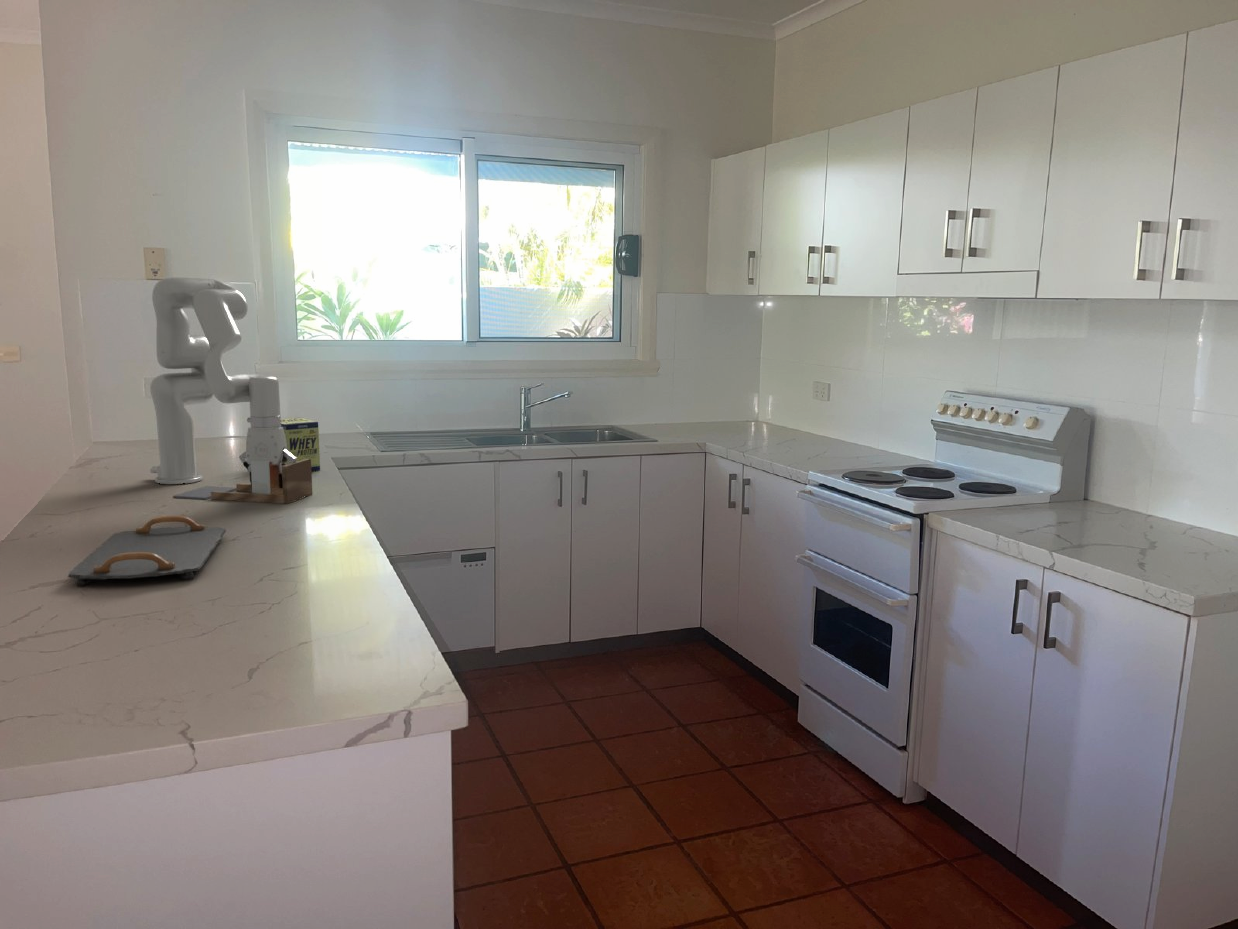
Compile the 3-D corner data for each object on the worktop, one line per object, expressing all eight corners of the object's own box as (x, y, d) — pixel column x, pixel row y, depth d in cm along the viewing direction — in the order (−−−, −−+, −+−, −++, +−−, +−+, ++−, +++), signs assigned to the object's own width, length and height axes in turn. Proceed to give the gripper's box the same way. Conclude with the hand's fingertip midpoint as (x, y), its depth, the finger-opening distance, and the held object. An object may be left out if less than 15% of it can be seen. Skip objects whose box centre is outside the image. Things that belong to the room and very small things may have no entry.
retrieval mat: (173, 497, 246) (173, 495, 246) (206, 487, 260) (206, 486, 260) (206, 499, 244) (206, 497, 244) (237, 489, 258) (237, 487, 258)
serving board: (119, 541, 202) (116, 514, 201) (231, 536, 208) (229, 510, 207) (60, 595, 165) (57, 562, 164) (199, 586, 171) (196, 554, 170)
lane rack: (211, 499, 245) (208, 462, 243) (239, 490, 257) (237, 455, 255) (287, 503, 240) (285, 466, 239) (312, 494, 252) (310, 458, 251)
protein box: (288, 474, 282) (286, 424, 279) (269, 467, 294) (267, 419, 291) (321, 470, 289) (319, 421, 286) (301, 463, 300) (299, 416, 298)
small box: (270, 500, 244) (268, 462, 242) (252, 499, 245) (249, 461, 243) (287, 495, 251) (285, 457, 250) (269, 494, 253) (267, 456, 251)
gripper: (228, 423, 243) (232, 487, 246) (287, 425, 239) (290, 491, 242) (245, 419, 250) (248, 482, 253) (302, 421, 247) (306, 485, 249)
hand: (269, 486), depth 248 cm, fingers open, 7 cm apart
